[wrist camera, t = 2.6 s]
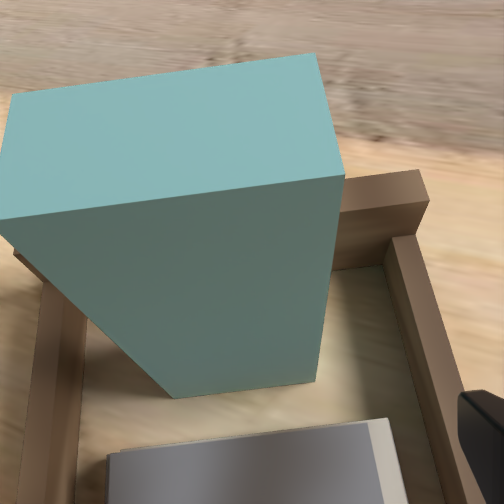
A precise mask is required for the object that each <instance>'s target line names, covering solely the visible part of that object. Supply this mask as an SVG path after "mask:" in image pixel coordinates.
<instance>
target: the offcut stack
mask: <svg viewBox="0 0 504 504" xmlns="http://www.w3.org/2000/svg"><path fill="white" fill-rule="evenodd" d="M105 504H409V503H408V499H407V495H406V490H405V486H404V482H403V477H402V473H401V469H400V464H399V460H398V456H397V451H396V447H395V443H394V439H393V434H392V430H391V426H390V421H388V418H380V419H372V420H364V421H355V422H347V423H339V424H331V425H322V426H314V427H306V428H297V429H289V430H281V431H273V432H264V433H256V434H248V435H239V436H231V437H223V438H215V439H206V440H198V441H190V442H182V443H173V444H165V445H157V446H148V447H140V448H132V449H124V450H120V452H119V453H111V454H109V455H107V461H106V484H105Z"/></svg>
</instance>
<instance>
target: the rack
mask: <svg viewBox="0 0 504 504" xmlns="http://www.w3.org/2000/svg"><path fill="white" fill-rule="evenodd" d="M429 201H430V200H429V197H428V194H427V191H426V188H425V185H424V182H423V180H422V177H421V174H420V171H419V169H417V170H409V171H401V172H394V173H386V174H379V175H371V176H363V177H356V178H348V179H344V186H343V193H342V200H341V207H340V214H339V221H338V228H337V235H336V241H335V248H334V255H333V262H332V269H331V271H335V270H343V269H350V268H358V267H366V266H374V265H383V269H384V273H385V276H386V280H387V284H388V288H389V291H390V295H391V299H392V303H393V306H394V310H395V314H396V318H397V321H398V325H399V329H400V333H401V337H402V340H403V344H404V348H405V352H406V355H407V359H408V363H409V367H410V370H411V374H412V378H413V382H414V385H415V389H416V393H417V397H418V400H419V404H420V408H421V412H422V416H423V419H424V423H425V427H426V431H427V434H428V438H429V442H430V446H431V449H432V453H433V457H434V461H435V464H436V468H437V472H438V476H439V479H440V483H441V487H442V491H443V494H444V498H445V502H446V504H486V502H485V500H484V498H483V495H482V493H481V491H480V489H479V486H478V484H477V482H476V480H475V477H474V475H473V473H472V471H471V469H470V466H469V464H468V462H467V460H466V457H465V455H464V453H463V451H462V448H461V446H460V443H459V439H458V433H457V398H458V395H459V394H460V393H461V392H464V388H463V384H462V381H461V378H460V375H459V372H458V368H457V365H456V362H455V359H454V356H453V353H452V349H451V346H450V343H449V340H448V337H447V334H446V330H445V327H444V324H443V321H442V318H441V314H440V311H439V308H438V305H437V302H436V299H435V295H434V292H433V289H432V286H431V283H430V280H429V276H428V273H427V270H426V267H425V264H424V261H423V257H422V254H421V251H420V248H419V245H418V241H417V238H416V235H415V234H416V231H417V229H418V227H419V224H420V222H421V220H422V217H423V215H424V213H425V210H426V208H427V206H428V203H429ZM13 255H14V256H15V257H16V258H17V259H18V260H19V261H21V262H22V263H23V264H24V265H25V266H26V267H27V268H28V269H29V270H30V271H31V272H33V273H34V274H35V275H36V276H37V277H38V278H39V279H40V280H41V281H42V282H43V289H42V297H41V305H40V313H39V321H38V329H37V337H36V345H35V353H34V361H33V370H32V378H31V386H30V394H29V402H28V410H27V418H26V426H25V434H24V442H23V451H22V459H21V467H20V475H19V483H18V491H17V499H16V504H74V497H75V483H76V469H77V454H78V440H79V426H80V412H81V398H82V384H83V370H84V356H85V342H86V327H87V316H86V315H85V314H84V313H83V312H82V311H81V310H80V309H78V308H77V307H76V306H75V305H74V304H73V303H72V302H71V301H70V300H69V299H68V298H67V297H66V296H65V295H64V294H63V293H62V292H61V291H59V290H58V289H57V288H56V287H55V286H54V285H53V284H52V283H51V282H50V281H49V280H48V279H47V278H46V277H45V276H44V275H43V274H42V273H40V272H39V271H38V270H37V269H36V268H35V267H34V266H33V265H32V264H31V263H30V262H29V261H28V260H27V259H26V258H25V257H24V256H23V255H22V254H20V253H19V252H18V251H17V250H16V249H15V248H14V252H13Z"/></svg>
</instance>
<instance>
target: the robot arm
mask: <svg viewBox="0 0 504 504" xmlns="http://www.w3.org/2000/svg"><path fill="white" fill-rule="evenodd" d="M457 433H458V439H459V443H460V446H461V448H462V451H463V453H464V455H465V457H466V460H467V462H468V464H469V466H470V469H471V471H472V473H473V475H474V477H475V480H476V482H477V484H478V486H479V489H480V491H481V493H482V495H483V498H484V500H485V502H486V504H504V399H503V398H500V397H498V396H496V395H494V394H492V393H490V392H488V391H485V390H472V391H464V392H461V393H460V394H459V395H458V398H457Z"/></svg>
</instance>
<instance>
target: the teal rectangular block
mask: <svg viewBox="0 0 504 504" xmlns="http://www.w3.org/2000/svg"><path fill="white" fill-rule="evenodd" d="M344 179H345V171H344V167H343V163H342V159H341V155H340V151H339V147H338V143H337V139H336V135H335V131H334V127H333V123H332V119H331V115H330V111H329V107H328V103H327V99H326V95H325V91H324V87H323V83H322V79H321V75H320V71H319V67H318V63H317V59H316V55H315V53H309V54H301V55H294V56H287V57H279V58H272V59H265V60H258V61H250V62H243V63H236V64H228V65H221V66H214V67H207V68H199V69H192V70H185V71H177V72H170V73H163V74H155V75H148V76H141V77H134V78H126V79H119V80H112V81H104V82H97V83H90V84H83V85H75V86H68V87H61V88H53V89H46V90H39V91H31V92H24V93H17V94H12V98H11V103H10V108H9V113H8V118H7V123H6V128H5V133H4V138H3V143H2V148H1V153H0V235H1V236H3V237H4V238H5V239H6V240H7V241H8V242H9V243H10V244H11V245H12V246H13V247H14V248H15V249H16V250H17V251H18V252H19V253H20V254H22V255H23V256H24V257H25V258H26V259H27V260H28V261H29V262H30V263H31V264H32V265H33V266H34V267H35V268H36V269H37V270H38V271H39V272H40V273H42V274H43V275H44V276H45V277H46V278H47V279H48V280H49V281H50V282H51V283H52V284H53V285H54V286H55V287H56V288H57V289H58V290H59V291H61V292H62V293H63V294H64V295H65V296H66V297H67V298H68V299H69V300H70V301H71V302H72V303H73V304H74V305H75V306H76V307H77V308H78V309H80V310H81V311H82V312H83V313H84V314H85V315H86V316H87V317H88V318H89V319H90V320H91V321H92V322H93V323H94V324H95V325H96V326H97V327H99V328H100V329H101V330H102V331H103V332H104V333H105V334H106V335H107V336H108V337H109V338H110V339H111V340H112V341H113V342H114V343H115V344H116V345H118V346H119V347H120V348H121V349H122V350H123V351H124V352H125V353H126V354H127V355H128V356H129V357H130V358H131V359H132V360H133V361H134V362H135V363H136V364H138V365H139V366H140V367H141V368H142V369H143V370H144V371H145V372H146V373H147V374H148V375H149V376H150V377H151V378H152V379H153V380H154V381H155V382H157V383H158V384H159V385H160V386H161V387H162V388H163V389H164V390H165V391H166V392H167V393H168V394H169V395H170V396H171V397H172V398H173V399H178V398H186V397H194V396H203V395H211V394H219V393H227V392H235V391H243V390H252V389H260V388H268V387H276V386H284V385H292V384H300V383H309V382H315V379H316V372H317V365H318V358H319V352H320V345H321V338H322V331H323V324H324V317H325V310H326V303H327V296H328V290H329V283H330V276H331V269H332V262H333V255H334V248H335V241H336V235H337V228H338V221H339V214H340V207H341V200H342V193H343V186H344Z"/></svg>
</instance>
